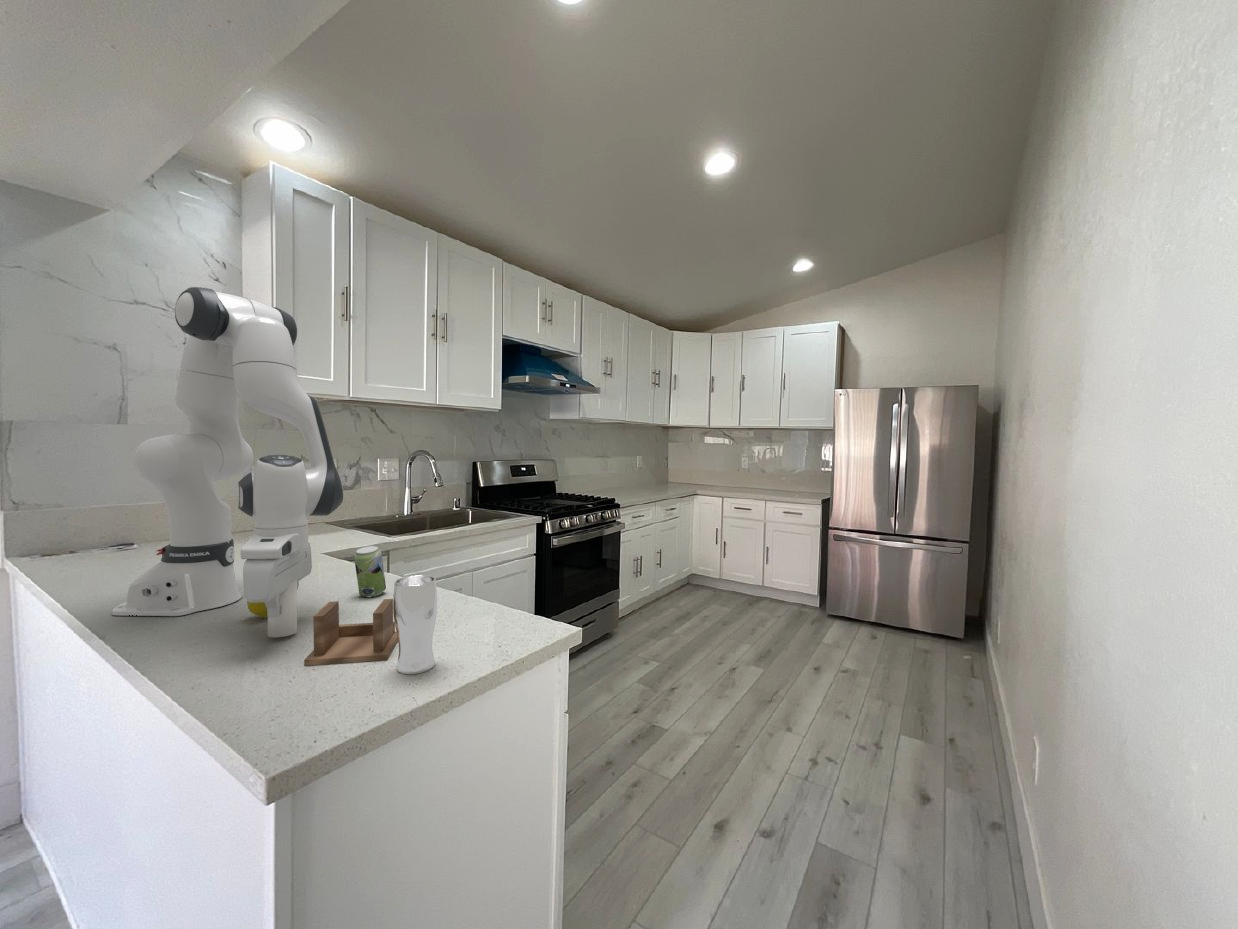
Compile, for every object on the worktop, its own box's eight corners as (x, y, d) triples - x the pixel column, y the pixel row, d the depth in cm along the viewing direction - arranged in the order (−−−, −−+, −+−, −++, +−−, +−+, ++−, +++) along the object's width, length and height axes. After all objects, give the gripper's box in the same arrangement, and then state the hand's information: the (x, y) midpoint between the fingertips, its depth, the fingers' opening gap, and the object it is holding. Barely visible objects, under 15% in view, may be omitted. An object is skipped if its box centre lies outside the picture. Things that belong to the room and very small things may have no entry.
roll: (262, 638, 97) (262, 584, 97) (274, 628, 102) (274, 577, 101) (290, 636, 98) (290, 583, 98) (301, 627, 103) (301, 577, 102)
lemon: (246, 617, 111) (245, 580, 110) (277, 611, 114) (276, 576, 114) (249, 624, 106) (247, 586, 106) (280, 618, 110) (280, 581, 110)
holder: (304, 665, 88) (303, 619, 87) (327, 640, 99) (326, 599, 98) (387, 660, 91) (386, 615, 90) (400, 636, 101) (400, 596, 101)
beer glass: (402, 658, 91) (401, 574, 91) (442, 657, 92) (441, 574, 91) (387, 676, 84) (386, 586, 84) (430, 675, 85) (430, 585, 84)
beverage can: (390, 591, 130) (390, 544, 129) (374, 600, 123) (373, 550, 122) (367, 590, 131) (366, 543, 130) (349, 599, 123) (348, 549, 123)
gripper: (287, 530, 109) (288, 594, 109) (234, 552, 89) (235, 631, 89) (320, 530, 110) (320, 594, 111) (275, 551, 90) (276, 629, 91)
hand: (282, 610), depth 100 cm, fingers closed on roll, 5 cm apart
